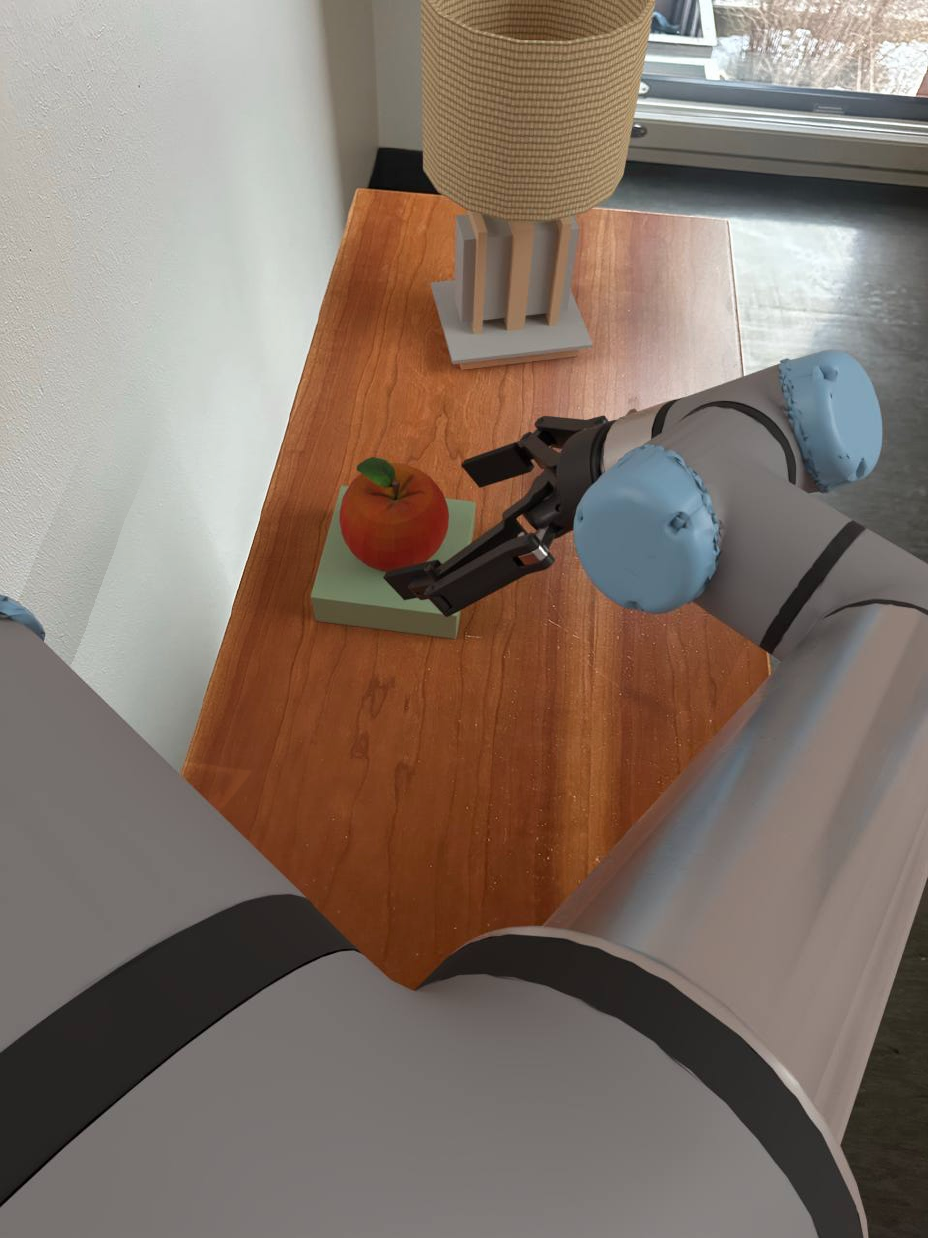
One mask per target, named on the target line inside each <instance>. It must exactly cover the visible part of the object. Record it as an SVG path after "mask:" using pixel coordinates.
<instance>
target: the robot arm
mask: <svg viewBox="0 0 928 1238" xmlns="http://www.w3.org/2000/svg"><path fill="white" fill-rule="evenodd" d="M636 411H637V412H634V413H632V414H629V415H626V414H625V415H626V416H625V415H623V416H620V417H619V418H617V419H613V420H609V419H608V418H607V417H606V415H599V416H596V417H592V418H587V419H582V418H581V419H580V418H571V417H561V416H552V415H543V416H540V417H538V419H537V420H535V422H534V424H533V426H534V427H535V428H536V429H535V430H534V431H533V432H532V431H528V432H526V433H524V434H523V435H522V436H521V437H520V439H519V440H517V441H515V442H511V443H509V444H506V445H503V446H500V447H497V448H494V449H491V450H489V451H487V452H483V453H480V454H478V455H474V456H471V457H469V458H466V459H464V460H463V462H462V463H461V465H460V466H461V468H462V469H463V470H464V471H465V472H466V473H467V475H468V477H470V478H471V479H472V481H473V482H474V483H475V484H476V485H477V487H478V488H479V489H481V488H484V487H487V486H490V485H493V484H497V483H500V482H504V481H506V480H510V479H513V478H516V477H519V476H522V475H526V474H529V473H531V472H532V471H533V470H534V468H535V464H537V466H538V467H539V468H540V470H543V471H542V472H541V473H540V475H536V476H535V478H534V480H532V483H531V486H530V487H529V489H528V491H527V493H526V494H525V495H524V496H523V497H522V498H520V499H519V500H518V501H516V502H514V503H513V504H512V505H510V506H509V507H508V508H506V509H505V510H504V511H503V512H502V514H501V521H499V522H498V523H497V524H494V526H493V527H491V528H490V529H488V530H487V531H486V532H484V533H483V534H481V535H480V536H479V537H477V538H476V539H475V540H472V543H471V544H469V545H468V546H466V547H465V548H464V549H462V550H461V551H459V552H458V553H457V554H455V555H454V556H453V557H451V558H450V559H448V560H447V561H446V562H444V563H443V564H442V563H441V562H440V561H439V560H438V559H437V560H433V561H429V562H424V563H420V564H416V565H411V566H407V567H403V568H398V569H394V570H390V571H387V572H386V574H385V575H384V577H383V579H384V580H385V581H386V582H387V583H388V584H389V585H390V586H391V587H392V588H393V589H394V590H395V591H396V592H397V593H398V594H399V595H400V596H401V597H402V598H403V600H409V599H414V598H418V599H420V600H426V599H429V600H430V601H431V602H432V603H433V604H434V605H435V606H436V607H437V608H438V610H439V611H440V612H441V613H442V614H443V615H444V616H445V617H449V616H451V615H453V614H455V613H456V612H458V611H460V610H461V611H462V610H464V609H466V608H468V607H469V606H472V605H473V604H475V603H477V602H479V601H480V600H482V599H484V598H486V597H488V596H490V595H491V594H493V593H495V592H498V591H499V590H501V589H503V588H505V587H506V586H509V585H510V584H512V583H514V582H516V581H518V580H520V579H522V578H523V577H525V576H527V575H531V574H534V573H539V572H542V571H545V570H548V569H549V568H550V567H551V566H552V565H553V564H555V561H556V558H555V557H554V556H553V554H552V553H551V552H550V551H549V550H550V548H551V545H552V543H553V542H554V540H557V539H559V538H561V537H563V536H565V535H566V534H568V533H571V532H573V533H572V534H573V544H574V547H575V551H576V554H577V557H578V560H579V562H580V565H581V567H582V569H583V571H584V573H585V574H586V575H587V577H588V579H589V580H590V582H591V583H592V584H593V586H594V587H595V588H596V589H597V590H598V591H599V592H600V593H601V594H602V595H603V596H605V597H606V598H607V599H608V600H609V601H611V602H613V603H614V604H616V605H618V606H620V607H622V608H624V609H626V610H636V611H640V612H643V613H646V614H649V615H663V614H667V613H670V612H673V611H676V610H678V609H680V608H682V607H683V606H685V605H690V604H691V603H693V604H695V605H696V606H698V607H699V608H700V609H702V610H703V611H705V612H706V613H708V614H709V615H711V616H712V617H714V618H715V619H717V620H719V621H720V622H721V623H722V624H723V625H726V626H727V627H728V628H730V629H731V630H733V631H735V632H736V633H737V634H739V635H741V636H742V637H743V638H744V639H746V640H748V641H749V642H751V643H752V644H753V645H755V646H757V647H758V648H760V649H762V650H763V651H764V652H766V653H768V654H769V655H771V656H772V657H774V658H775V659H777V661H780V663H779V664H778V665H777V667H775V668H774V670H772V672H771V673H770V674H769V675H768V676H767V677H766V679H765V680H764V681H763V682H762V683H761V684H760V685H759V686H758V687H757V689H756V690H755V691H754V692H753V693H752V694H751V695H750V696H749V698H747V700H745V702H744V703H743V704H742V705H741V706H740V707H739V708H738V709H737V711H736V712H735V713H734V714H733V715H732V716H731V717H729V719H728V721H726V723H725V724H724V725H723V726H722V727H721V728H720V729H719V730H718V731H717V733H715V735H714V736H713V737H712V738H711V739H710V740H709V741H708V742H707V743H706V744H705V746H703V748H702V749H701V750H700V752H698V754H697V755H696V756H695V757H694V758H692V760H691V761H690V762H689V763H688V765H687V766H686V767H685V768H684V769H683V770H682V771H681V772H680V773H679V774H678V775H677V777H675V779H674V780H673V781H672V782H671V783H670V784H669V785H668V787H666V789H665V790H664V791H663V792H662V793H661V794H660V795H659V796H658V797H657V798H656V800H654V802H653V803H652V804H651V805H650V806H649V807H648V808H647V809H646V810H645V812H644V813H643V814H642V815H641V816H640V817H639V818H638V819H637V821H636V822H635V823H634V824H633V825H632V826H631V827H630V829H628V831H627V832H625V834H624V835H623V836H622V837H621V838H620V839H619V840H618V841H617V843H616V844H615V845H614V846H613V847H612V848H611V849H610V850H609V852H607V854H606V855H605V856H604V857H603V858H602V859H601V860H600V861H599V862H598V863H597V865H596V866H595V867H594V868H593V869H592V870H591V871H590V872H589V873H588V874H587V876H585V878H584V879H583V880H582V881H581V882H580V883H579V884H578V886H577V887H576V888H575V889H573V891H572V892H571V893H570V894H569V895H568V897H567V898H566V899H565V900H564V901H563V902H562V903H561V904H560V905H559V906H558V907H557V909H556V910H554V912H553V913H552V914H551V915H550V916H549V917H548V919H547V920H546V921H545V922H544V923H543V924H542V925H521V926H519V925H518V926H508V927H503V928H498V929H495V930H490V931H486V932H485V933H482V934H479V935H478V936H476V937H473V938H471V939H469V940H467V941H466V942H465V943H463V944H462V945H461V946H459V947H458V948H456V949H455V950H454V951H453V952H451V953H450V954H449V955H448V956H447V957H446V958H444V959H443V961H442V962H440V963H439V965H437V967H436V968H435V969H433V971H432V972H430V974H428V976H426V977H425V979H423V980H422V982H421V983H420V984H418V985H417V986H416V988H414V990H413V989H411V988H408V987H406V986H404V985H402V984H400V983H398V982H397V981H394V980H392V979H391V978H390V977H388V976H387V975H386V974H385V973H384V972H383V970H381V969H380V968H378V967H377V966H376V965H375V963H373V962H372V961H371V960H370V959H369V958H367V957H366V956H365V955H364V953H363V952H362V951H360V949H359V948H357V947H356V945H354V944H353V942H351V940H349V938H347V937H346V935H344V934H343V933H342V931H340V930H339V929H338V927H336V926H335V925H334V924H333V923H332V922H331V921H330V919H328V918H327V917H326V916H325V915H324V914H323V913H322V912H321V911H320V910H319V909H318V908H317V907H316V906H315V905H314V903H312V901H311V900H310V899H309V898H307V896H306V895H304V893H302V891H300V889H298V887H296V886H295V884H293V883H292V882H291V881H290V880H289V879H288V878H287V877H286V876H285V875H284V874H283V873H282V872H281V871H280V870H279V869H278V868H277V867H276V866H275V865H274V864H273V863H271V862H270V860H269V859H268V858H266V856H264V855H263V853H261V851H260V850H258V849H257V848H256V847H255V846H254V845H253V844H252V843H251V842H250V841H249V840H248V839H247V838H246V837H245V836H244V835H243V834H242V833H241V832H240V831H239V830H238V829H236V827H235V826H234V825H233V824H232V823H231V822H230V821H228V819H226V817H224V816H223V814H221V813H220V812H219V811H218V810H217V809H216V808H215V807H214V806H213V805H212V804H211V803H210V802H209V801H208V800H207V799H206V798H205V797H204V796H203V795H202V794H201V793H200V792H199V791H198V790H197V789H196V788H195V787H194V786H193V785H191V784H190V782H189V781H188V780H186V779H185V777H183V775H182V774H180V773H179V772H178V771H177V770H176V769H175V767H173V766H172V765H171V764H170V763H169V762H168V761H167V760H166V759H165V758H164V757H163V756H162V755H161V754H160V753H159V752H158V751H157V750H156V749H155V748H154V747H152V746H151V744H149V742H147V741H146V740H145V739H144V738H143V737H142V735H140V734H139V733H138V732H137V731H136V730H135V729H134V728H133V727H132V726H131V725H130V724H129V723H128V722H127V721H126V720H125V719H124V718H123V717H122V716H121V715H120V714H119V713H118V712H117V711H116V710H115V709H114V708H113V707H111V705H110V704H109V703H107V702H106V701H105V699H104V698H102V697H101V695H99V694H98V693H97V692H96V691H95V690H94V689H93V688H92V687H91V686H90V685H89V684H88V683H87V682H86V681H85V680H84V679H83V678H82V677H81V676H80V675H79V674H78V673H77V672H76V671H74V669H72V667H70V665H68V663H66V662H65V660H63V658H61V656H59V655H58V654H57V653H56V652H55V651H54V650H53V649H52V647H50V646H49V645H48V644H47V643H46V642H45V638H46V632H45V629H44V626H43V624H42V623H41V621H39V619H38V618H37V616H35V614H34V613H33V612H32V611H31V610H30V609H28V608H27V607H25V606H23V605H21V604H20V602H19V601H17V600H15V599H13V598H12V597H10V596H7V595H4V594H0V1238H869V1230H868V1229H869V1228H868V1220H867V1216H866V1213H865V1208H864V1205H863V1201H862V1198H861V1194H860V1190H859V1187H858V1184H857V1181H856V1179H855V1176H854V1174H853V1172H852V1169H851V1168H850V1164H849V1162H848V1160H847V1158H846V1155H845V1154H844V1153H845V1152H844V1150H843V1149H842V1147H841V1144H842V1141H843V1138H844V1135H845V1132H846V1129H847V1126H848V1123H849V1119H850V1116H851V1114H852V1111H853V1107H854V1104H855V1101H856V1099H857V1095H858V1092H859V1089H860V1087H861V1083H862V1080H863V1077H864V1074H865V1070H866V1068H867V1064H868V1061H869V1058H870V1055H871V1052H872V1049H873V1046H874V1043H875V1040H876V1037H877V1034H878V1031H879V1027H880V1025H881V1021H882V1018H883V1015H884V1013H885V1009H886V1007H887V1003H888V1000H889V997H890V994H891V991H892V988H893V984H894V981H895V979H896V975H897V972H898V969H899V966H900V964H901V959H902V957H903V954H904V951H905V948H906V945H907V942H908V938H909V936H910V932H911V929H912V926H913V923H914V920H915V918H916V914H917V911H918V908H919V905H920V901H921V899H922V896H923V892H924V889H925V886H926V883H927V882H928V881H927V880H928V563H927V562H925V561H924V560H922V559H920V558H918V557H917V556H915V555H913V554H911V553H910V552H908V551H907V550H905V549H903V548H902V547H900V546H898V545H896V544H895V543H893V542H891V541H889V540H888V539H886V538H885V537H882V536H880V535H879V534H878V533H875V532H874V531H872V530H870V529H869V528H866V527H865V526H864V525H862V524H861V523H859V522H857V521H855V520H854V519H852V518H850V517H849V516H847V515H845V514H844V513H842V512H840V511H838V510H837V509H835V508H833V507H832V506H831V505H828V504H826V503H825V502H824V501H822V500H820V499H818V498H817V497H815V496H813V495H812V494H813V493H814V494H815V493H820V494H822V495H823V494H824V495H825V494H829V493H830V492H831V490H835V489H837V488H841V487H845V486H848V485H851V484H854V483H857V482H860V481H861V480H864V479H865V478H867V477H868V476H869V475H870V474H871V473H872V472H873V470H874V468H875V467H876V465H877V463H878V461H879V458H880V455H881V451H882V445H883V420H882V412H881V407H880V403H879V400H878V396H877V394H876V391H875V388H874V385H873V383H872V381H871V379H870V377H869V375H868V373H867V371H866V370H865V368H864V367H863V366H862V364H860V362H859V361H857V359H855V357H853V356H852V355H851V354H849V353H848V352H844V351H843V350H839V349H825V350H821V351H818V352H813V353H811V354H807V355H804V356H801V357H800V356H799V357H797V358H793V359H790V358H783V359H780V361H779V363H777V364H773V365H771V366H769V367H765V368H763V369H760V370H757V371H754V372H752V373H749V374H746V375H744V376H741V377H739V378H735V379H732V380H729V381H726V382H723V383H721V384H718V385H715V386H713V387H710V388H707V389H704V390H701V391H698V392H695V393H692V394H689V395H687V396H682V397H680V398H675V399H670V400H666V401H664V402H661V403H658V404H655V405H652V406H649V407H647V408H643V409H641V410H636ZM555 449H559V450H560V452H558V451H557V450H555ZM532 461H534V462H535V464H534V463H533V462H532ZM520 516H522V517H523V518H524V519H525V521H526V522H527V523H528V524H529V525H530V527H532V528H533V530H535V532H528V531H527V530H526V529H525V528H524V526H523V525H522V523H520V521H519V520H518V518H519V517H520Z"/></svg>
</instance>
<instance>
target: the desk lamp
mask: <svg viewBox="0 0 928 1238" xmlns="http://www.w3.org/2000/svg"><path fill="white" fill-rule="evenodd" d="M656 1H657V0H420V8H421V9H420V17H421V19H420V23H421V25H420V26H421V27H420V28H421V29H420V30H421V34H420V35H421V99H422V100H421V105H422V107H421V108H422V111H421V112H422V170H423V172H424V174H425V175H426V176H427V178H428V180H429V181H430V183H431V184H432V186H433V187H434V189H435V190H436V191H437V193H439V194H440V195H442V196H443V197H445V198H447V199H448V200H450V201H452V202H453V203H455V205H457V206H459V207H461V208H463V209H464V210H466V214H459V215H455V242H454V243H455V244H454V246H455V247H454V253H455V254H454V279H453V280H443V281H441V280H440V281H434V282H430V288H431V291H432V295H433V299H434V303H435V306H436V309H437V313H438V317H439V320H440V321H439V322H440V324H441V328H442V331H443V336H444V338H445V342H446V346H447V349H448V354H449V356H450V360H451V364H452V365H459V367H460V370H461V371H464V370H472V369H479V368H490V367H496V366H497V367H498V366H506V365H514V364H524V363H531V362H539V361H540V362H541V361H549V360H556V359H557V360H558V359H565V358H573V357H574V358H575V357H578V351H579V350H589V349H593V346H594V344H593V341H592V339H591V337H590V334H589V332H588V331H589V330H588V329H587V327H586V323H585V322H584V320H583V319H584V318H583V316H582V314H581V312H580V309H579V307H578V304H577V302H576V299H575V297H574V294H573V292H572V282H573V281H572V280H573V276H574V270H575V269H574V268H575V263H576V262H575V261H576V256H577V249H578V242H579V236H580V231H581V230H580V229H581V228H580V225H579V224H578V221H577V219H576V217H575V216H579V215H583V214H586V213H587V212H589V211H590V210H592V209H594V208H595V207H597V206H599V205H600V204H602V203H603V202H605V201H607V200H609V199H610V198H611V197H612V196H613V194H614V192H615V191H616V189H617V187H618V185H619V184H620V182H621V180H622V179H623V177H624V174H625V169H626V163H627V162H626V161H627V157H628V152H629V146H630V141H631V136H632V130H633V126H634V125H633V124H634V121H635V120H634V119H635V115H636V114H635V113H636V109H637V103H638V98H639V92H640V87H641V83H642V82H641V81H642V77H643V71H644V66H645V60H646V54H647V50H648V44H649V39H650V34H651V28H652V23H653V19H654V11H655V7H656Z"/></svg>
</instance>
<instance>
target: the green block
mask: <svg viewBox="0 0 928 1238" xmlns="http://www.w3.org/2000/svg"><path fill="white" fill-rule="evenodd" d="M349 486H350V485H340V488H339V490H338V491H339V492H338V496H337V499H336V501H335V505H334V511H333V513H332V517H331V520H330V524H329V528H328V531H327V534H326V535H327V536H326V538H325V539H326V540H325V543H324V545H323V550H322V554H321V557H320V561H319V564H318V569H317V572H316V576H315V579H314V583H313V587H312V590H311V593H310V600H311V605H312V609H313V615H314V619H315V622H322V623H328V624H329V623H330V624H336V625H343V626H344V625H345V626H351V627H352V626H353V627H359V628H360V627H361V628H366V629H375V630H383V631H390V632H398V633H405V634H412V635H421V636H429V637H436V638H443V639H444V638H445V639H451V640H452V639H453V640H456V639H457V637H458V632H459V631H458V629H459V624H460V620H461V618H460V617H461V613H462V610H460V611H458V612H456V613H455V614H453V615H451V616H449V617H445V616H444V615H443V614H442V613H441V612H440V611H439V610H438V608H437V607H436V606H435V605H434V604H433V603H432V602H431V601H430V600H429V599H426V600H420V599H418V598H414V599H409V600H403V598H402V597H401V596H400V595H399V594H398V593H397V592H396V591H395V590H394V589H393V588H392V587H391V586H390V585H389V584H388V583H387V582H386V581H385V580H384V579H383V577H384V575H385V574H386V572H384V571H380V570H377V569H374V568H371V567H369V566H367V565H366V564H364V563H363V562H362V561H360V560H359V559H358V558H357V557H356V556H355V555H353V554H352V552H351V551H350V549H349V548H348V546H347V545H346V543H345V541H344V539H343V536H342V532H341V527H340V521H339V517H340V508H341V503H342V499H343V496H344V494H345V492H346V490H347V489H348V487H349ZM445 500H446V503H447V505H448V511H449V523H448V530H447V534H446V537H445V539H444V541H443V543H442V544H441V546H440V548H439V549H438V551H437V552H436V553H435V554H434V555H433V556H432V557H431V558H430V559H429V560H428V561H427V562H429V561H433V560H437V559H438V560H439V561H440V562H441V563H442V564H443V563H444V562H446V561H447V560H448V559H450V558H451V557H453V556H454V555H455V554H457V553H458V552H459V551H461V550H462V549H464V548H465V547H466V546H468V545H469V544H471V543H472V542H473V538H474V532H475V525H476V524H475V521H476V508H477V507H476V506H477V501H474V500H473V501H472V500H464V499H458V498H457V499H456V498H447V497H445Z"/></svg>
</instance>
